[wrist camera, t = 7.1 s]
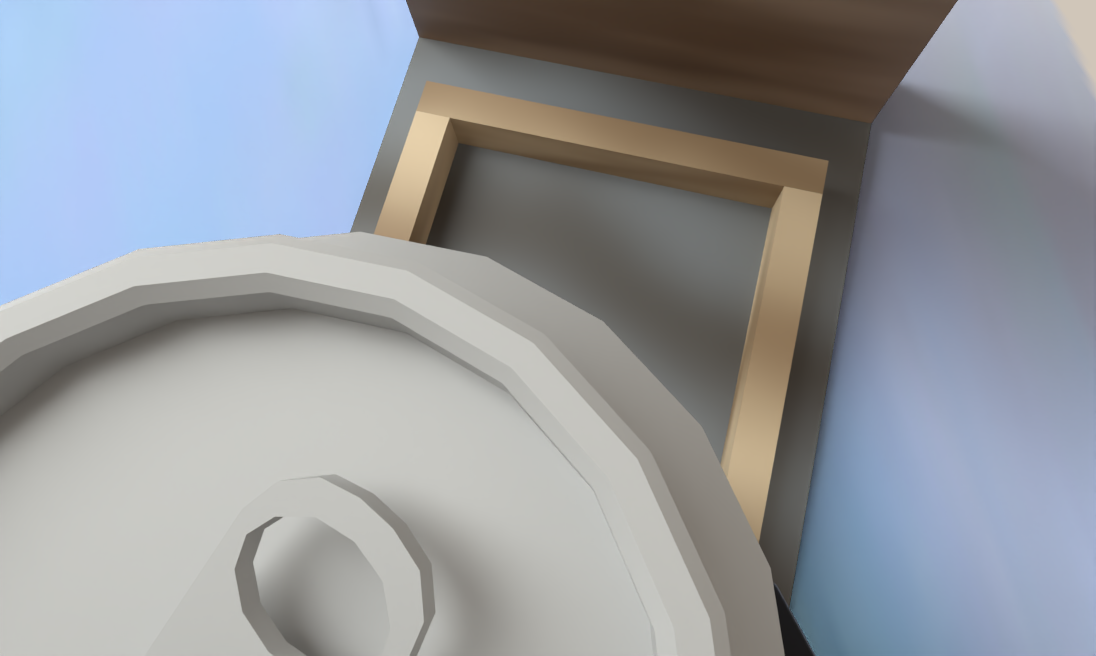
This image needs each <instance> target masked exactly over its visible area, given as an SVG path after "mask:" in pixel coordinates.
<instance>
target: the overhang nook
mask: <svg viewBox="0 0 1096 656" xmlns="http://www.w3.org/2000/svg"><path fill="white" fill-rule="evenodd" d="M957 1H958V0H406V2H407V5H408V7H409V10H410V13H411V16H412V18H413V21H414V24H415V27H416V29H417V32H418V35H419V39H418V42H417V45H416V48H415V51H414V53H413V56H412V59H411V62H410V65H409V67H408V70H407V73H406V76H405V79H404V82H403V84H402V87H401V90H400V93H399V96H398V99H397V101H396V104H395V107H394V110H393V113H392V116H391V118H390V121H389V124H388V127H387V130H386V133H385V135H384V138H383V141H382V144H381V147H380V149H379V152H378V155H377V158H376V161H375V164H374V166H373V169H372V172H371V175H370V178H369V181H368V183H367V186H366V189H365V192H364V195H363V198H362V200H361V203H360V206H359V209H358V212H357V214H356V217H355V220H354V223H353V226H352V229H351V231H350V233H351V232H364V233H369V234H375V235H380V236H385V237H390V238H395V239H400V240H405V241H410V242H415V243H420V244H425V245H430V246H435V247H440V248H445V249H450V250H455V251H460V252H465V253H470V254H476V255H481V256H486V257H488V258H490V259H492V260H493V261H495V262H497V263H499V264H501V265H502V266H504V267H506V268H508V269H510V270H511V271H513V272H515V273H517V274H519V275H520V276H522V277H524V278H526V279H528V280H529V281H531V282H533V283H535V284H537V285H538V286H540V287H542V288H544V289H546V290H547V291H549V292H551V293H553V294H555V295H556V296H558V297H560V298H562V299H564V300H565V301H567V302H569V303H571V304H573V305H575V306H576V307H578V308H580V309H582V310H584V311H585V312H587V313H589V314H591V315H593V316H594V317H596V318H598V319H600V320H602V321H603V322H604V323H605V324H606V325H607V326H608V327H609V328H610V329H611V330H612V331H613V332H614V333H615V334H616V335H617V337H618V338H619V339H620V340H621V341H622V342H623V343H624V344H625V345H626V346H627V347H628V348H629V349H630V350H631V351H632V353H633V354H634V355H635V356H636V357H637V358H638V359H639V360H640V361H641V362H642V363H643V364H644V365H645V366H646V367H647V368H648V370H649V371H650V372H651V373H652V374H653V375H654V376H655V377H656V378H657V379H658V380H659V381H660V382H661V383H662V384H663V386H664V387H665V388H666V389H667V390H668V391H669V392H670V393H671V394H672V395H673V396H674V397H675V398H676V399H677V400H678V401H679V403H680V404H681V405H682V406H683V407H684V408H685V409H686V410H687V411H688V412H689V413H690V414H691V415H692V416H693V417H694V419H695V420H696V421H697V422H698V423H699V424H700V425H701V426H702V428H703V430H704V432H705V434H706V436H707V438H708V440H709V442H710V444H711V446H712V448H713V450H714V453H715V455H716V457H717V459H718V461H719V463H720V465H721V467H722V469H723V471H724V473H725V475H726V477H727V479H728V481H729V483H730V485H731V488H732V490H733V492H734V494H735V496H736V498H737V500H738V502H739V504H740V506H741V508H742V510H743V512H744V514H745V516H746V518H747V520H748V523H749V525H750V527H751V529H752V531H753V533H754V535H755V537H756V539H757V541H758V543H759V545H760V547H761V549H762V551H763V553H764V555H765V558H766V560H767V562H768V564H769V566H770V568H771V573H772V579H773V582H774V583H775V584H776V585H777V587H778V588H779V590H780V592H781V594H782V596H783V597H784V599H785V601H786V603H787V605H788V607H789V606H790V600H791V595H792V589H793V583H794V577H795V571H796V565H797V559H798V553H799V547H800V541H801V536H802V530H803V524H804V518H805V512H806V506H807V500H808V494H809V488H810V482H811V476H812V471H813V465H814V459H815V453H816V447H817V441H818V435H819V429H820V423H821V417H822V412H823V406H824V400H825V394H826V388H827V382H828V376H829V370H830V364H831V358H832V352H833V347H834V341H835V335H836V329H837V323H838V317H839V311H840V305H841V299H842V293H843V288H844V282H845V276H846V270H847V264H848V258H849V252H850V246H851V240H852V234H853V228H854V223H855V217H856V211H857V205H858V199H859V193H860V187H861V181H862V175H863V169H864V164H865V158H866V152H867V146H868V140H869V134H870V128H871V123H872V122H873V120H874V119H875V118H876V116H877V115H878V113H879V112H880V110H881V109H882V108H883V106H884V105H885V103H886V102H887V100H888V99H889V98H890V96H891V95H892V93H893V92H894V90H895V89H896V88H897V86H898V85H899V83H900V82H901V80H902V79H903V78H904V76H905V75H906V73H907V72H908V70H909V69H910V68H911V66H912V65H913V63H914V62H915V61H916V59H917V58H918V56H919V55H920V53H921V52H922V51H923V49H924V48H925V46H926V45H927V43H928V42H929V41H930V39H931V38H932V36H933V35H934V33H935V32H936V31H937V29H938V28H939V26H940V25H941V23H942V22H943V21H944V19H945V18H946V16H947V15H948V13H949V12H950V11H951V9H952V8H953V6H954V5H955V3H956V2H957Z"/></svg>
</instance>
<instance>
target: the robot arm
mask: <svg viewBox="0 0 1096 656" xmlns="http://www.w3.org/2000/svg"><path fill="white" fill-rule="evenodd" d="M773 586H774V592H775V598H776V604H777V610H778V616H779V623H780V629H781V635H782V641H783V647H784V654H785V656H815V654H814V652H813V650H812V649H811V647H810V645H809V643H808V641H807V639H806V638H805V636H804V634H803V632H802V630H801V628H800V627H799V625H798V623H797V621H796V619H795V617H794V616H793V614H792V612H791V610H790V608H789V607H788V605H787V603H786V601H785V599H784V597H783V596H782V594H781V592H780V590H779V588H778V587H777V585H776V584H775V583H774V582H773Z"/></svg>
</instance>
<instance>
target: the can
mask: <svg viewBox="0 0 1096 656" xmlns="http://www.w3.org/2000/svg"><path fill="white" fill-rule="evenodd" d="M0 656H785V654H784V647H783V641H782V635H781V629H780V623H779V616H778V610H777V604H776V598H775V592H774V586H773V579H772V573H771V568H770V566H769V564H768V562H767V560H766V558H765V555H764V553H763V551H762V549H761V547H760V545H759V543H758V541H757V539H756V537H755V535H754V533H753V531H752V529H751V527H750V525H749V523H748V520H747V518H746V516H745V514H744V512H743V510H742V508H741V506H740V504H739V502H738V500H737V498H736V496H735V494H734V492H733V490H732V488H731V485H730V483H729V481H728V479H727V477H726V475H725V473H724V471H723V469H722V467H721V465H720V463H719V461H718V459H717V457H716V455H715V453H714V450H713V448H712V446H711V444H710V442H709V440H708V438H707V436H706V434H705V432H704V430H703V428H702V426H701V425H700V424H699V423H698V422H697V421H696V420H695V419H694V417H693V416H692V415H691V414H690V413H689V412H688V411H687V410H686V409H685V408H684V407H683V406H682V405H681V404H680V403H679V401H678V400H677V399H676V398H675V397H674V396H673V395H672V394H671V393H670V392H669V391H668V390H667V389H666V388H665V387H664V386H663V384H662V383H661V382H660V381H659V380H658V379H657V378H656V377H655V376H654V375H653V374H652V373H651V372H650V371H649V370H648V368H647V367H646V366H645V365H644V364H643V363H642V362H641V361H640V360H639V359H638V358H637V357H636V356H635V355H634V354H633V353H632V351H631V350H630V349H629V348H628V347H627V346H626V345H625V344H624V343H623V342H622V341H621V340H620V339H619V338H618V337H617V335H616V334H615V333H614V332H613V331H612V330H611V329H610V328H609V327H608V326H607V325H606V324H605V323H604V322H603V321H602V320H600V319H598V318H596V317H594V316H593V315H591V314H589V313H587V312H585V311H584V310H582V309H580V308H578V307H576V306H575V305H573V304H571V303H569V302H567V301H565V300H564V299H562V298H560V297H558V296H556V295H555V294H553V293H551V292H549V291H547V290H546V289H544V288H542V287H540V286H538V285H537V284H535V283H533V282H531V281H529V280H528V279H526V278H524V277H522V276H520V275H519V274H517V273H515V272H513V271H511V270H510V269H508V268H506V267H504V266H502V265H501V264H499V263H497V262H495V261H493V260H492V259H490V258H488V257H486V256H481V255H476V254H470V253H465V252H460V251H455V250H450V249H445V248H440V247H435V246H430V245H425V244H420V243H415V242H410V241H405V240H400V239H395V238H390V237H385V236H380V235H375V234H369V233H364V232H351V233H342V234H332V235H323V236H313V237H304V238H296V237H291V236H286V235H281V234H277V235H268V236H258V237H249V238H240V239H230V240H221V241H211V242H202V243H192V244H183V245H174V246H164V247H155V248H145V249H138V250H136V251H133V252H131V253H128V254H126V255H123V256H121V257H119V258H116V259H114V260H111V261H109V262H106V263H104V264H101V265H99V266H96V267H94V268H92V269H89V270H87V271H84V272H82V273H79V274H77V275H74V276H72V277H69V278H67V279H65V280H62V281H60V282H57V283H55V284H52V285H50V286H47V287H45V288H42V289H40V290H38V291H35V292H33V293H30V294H28V295H25V296H23V297H20V298H18V299H15V300H13V301H11V302H8V303H6V304H3V305H1V306H0Z"/></svg>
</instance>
